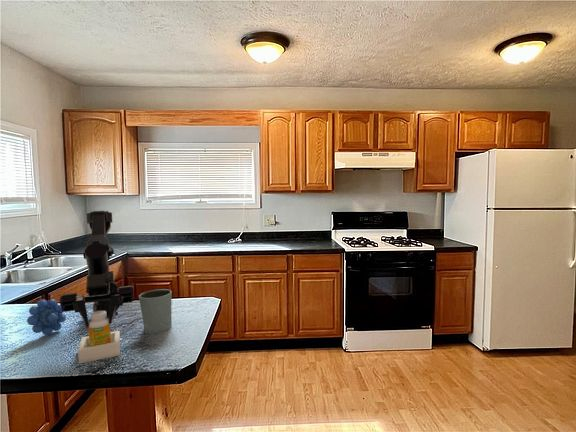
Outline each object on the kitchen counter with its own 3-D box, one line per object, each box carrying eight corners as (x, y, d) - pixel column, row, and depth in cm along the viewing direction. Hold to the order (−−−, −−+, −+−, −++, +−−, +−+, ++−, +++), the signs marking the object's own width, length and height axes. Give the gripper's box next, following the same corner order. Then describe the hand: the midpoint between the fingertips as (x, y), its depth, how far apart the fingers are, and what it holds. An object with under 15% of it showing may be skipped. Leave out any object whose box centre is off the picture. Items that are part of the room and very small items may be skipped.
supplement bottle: (93, 352, 94) (91, 317, 93) (87, 346, 97) (84, 313, 97) (114, 345, 98) (112, 312, 97) (107, 340, 101) (105, 308, 101)
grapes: (37, 344, 104) (34, 305, 103) (24, 340, 107) (21, 303, 106) (74, 329, 115) (72, 294, 114) (61, 327, 117) (59, 292, 116)
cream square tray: (82, 348, 100) (82, 337, 99) (120, 341, 104) (119, 330, 104) (78, 363, 91) (78, 350, 91) (119, 355, 95) (119, 342, 95)
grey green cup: (179, 327, 114) (177, 292, 113) (149, 337, 106) (147, 299, 106) (164, 320, 121) (162, 287, 120) (135, 329, 113) (133, 293, 113)
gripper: (58, 266, 95) (53, 318, 86) (131, 259, 103) (134, 305, 94) (64, 287, 103) (61, 336, 94) (132, 279, 111) (135, 323, 102)
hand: (98, 325), depth 96 cm, fingers closed on supplement bottle, 5 cm apart
